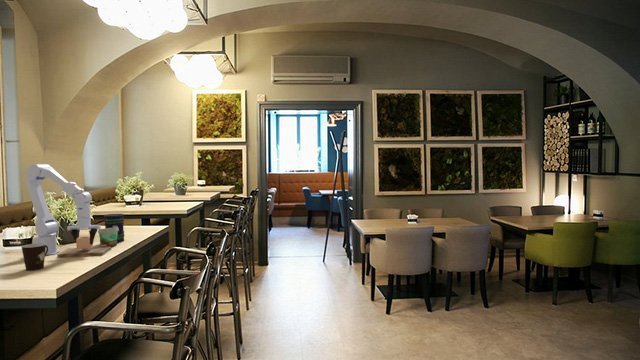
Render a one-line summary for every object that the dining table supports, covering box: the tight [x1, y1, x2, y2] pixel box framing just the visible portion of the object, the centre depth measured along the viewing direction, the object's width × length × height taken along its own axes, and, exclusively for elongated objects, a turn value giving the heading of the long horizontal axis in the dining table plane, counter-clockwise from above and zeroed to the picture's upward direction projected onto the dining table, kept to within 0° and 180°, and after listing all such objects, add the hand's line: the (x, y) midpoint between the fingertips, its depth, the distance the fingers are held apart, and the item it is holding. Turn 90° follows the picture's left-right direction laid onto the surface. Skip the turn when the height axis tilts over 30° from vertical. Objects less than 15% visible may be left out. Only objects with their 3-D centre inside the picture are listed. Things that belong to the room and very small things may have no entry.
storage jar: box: [104, 213, 125, 244], centre depth 249 cm, size 10×10×15 cm
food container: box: [97, 226, 119, 248], centre depth 235 cm, size 12×6×10 cm, turn 168°
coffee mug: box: [21, 243, 48, 272], centre depth 190 cm, size 12×9×10 cm
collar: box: [75, 235, 94, 249], centre depth 218 cm, size 6×6×5 cm
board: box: [56, 246, 112, 258], centre depth 218 cm, size 20×14×2 cm
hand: (84, 244), depth 218 cm, fingers closed on collar, 6 cm apart
